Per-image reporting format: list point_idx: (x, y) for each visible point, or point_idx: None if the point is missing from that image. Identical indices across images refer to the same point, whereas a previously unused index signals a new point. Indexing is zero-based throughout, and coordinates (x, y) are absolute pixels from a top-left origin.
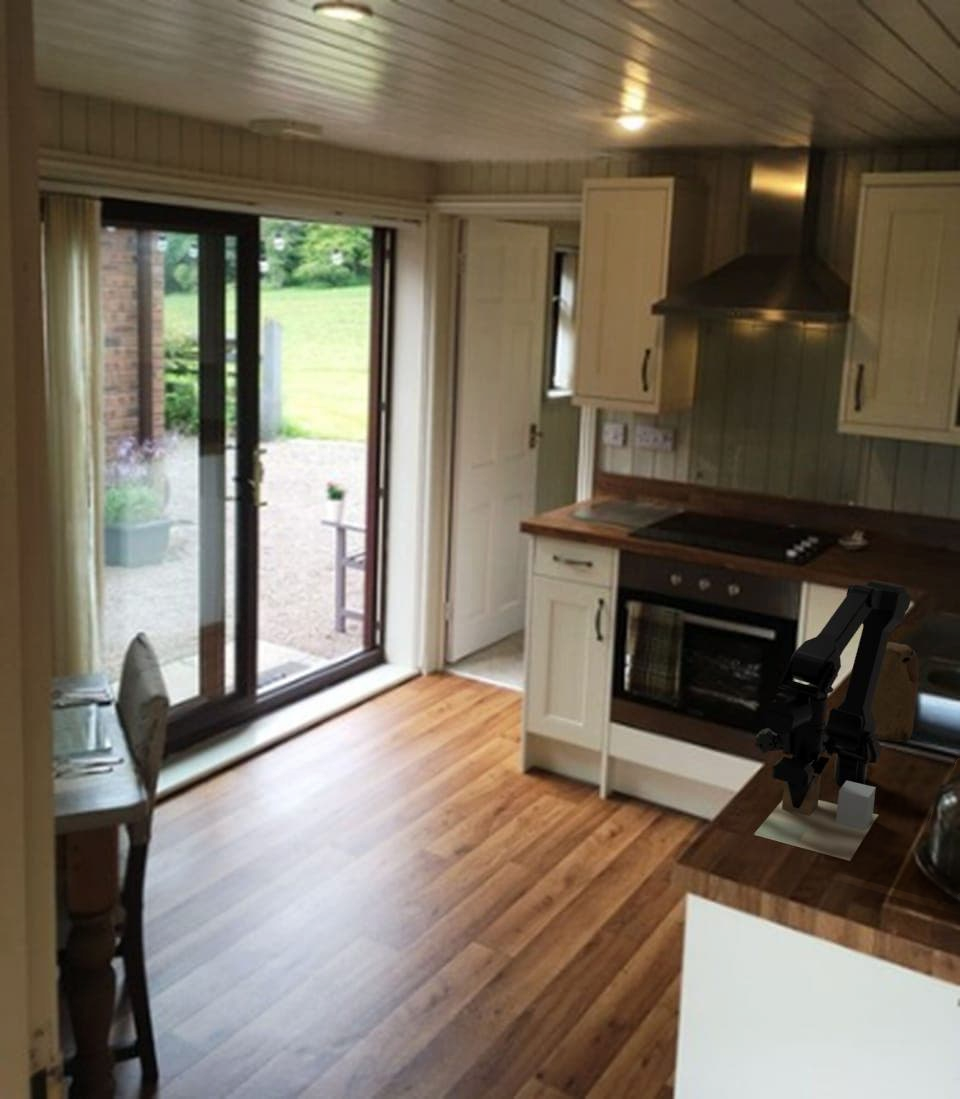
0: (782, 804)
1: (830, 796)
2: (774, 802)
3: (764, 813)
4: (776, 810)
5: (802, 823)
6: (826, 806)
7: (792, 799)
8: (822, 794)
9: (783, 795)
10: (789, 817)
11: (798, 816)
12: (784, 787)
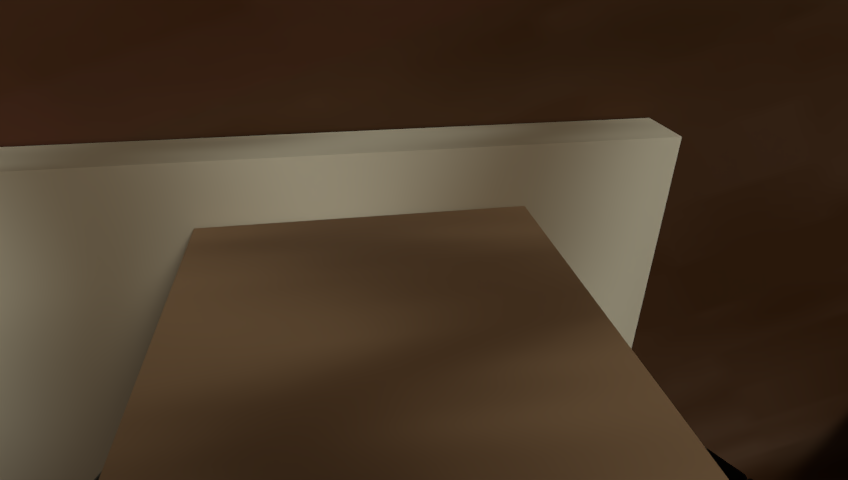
0: (185, 258)
1: (789, 366)
2: (456, 28)
3: (61, 28)
4: (95, 194)
5: (30, 478)
6: None
7: None
8: (810, 317)
9: (155, 342)
10: (44, 360)
11: None
12: (110, 464)
